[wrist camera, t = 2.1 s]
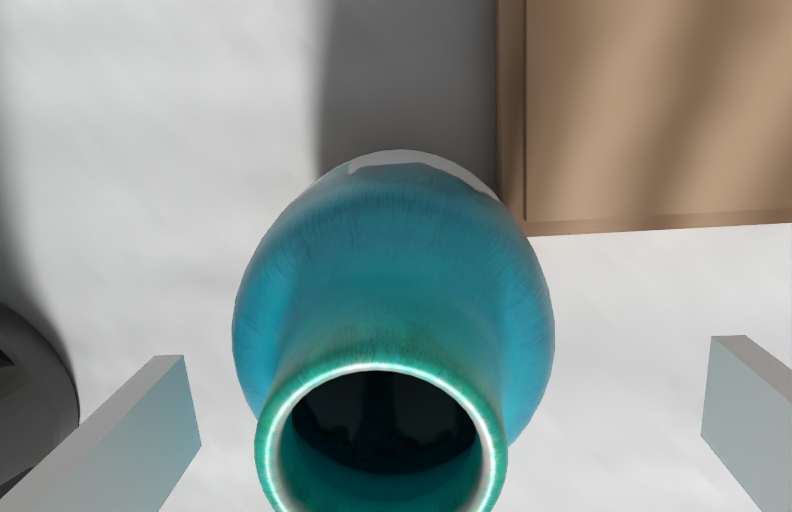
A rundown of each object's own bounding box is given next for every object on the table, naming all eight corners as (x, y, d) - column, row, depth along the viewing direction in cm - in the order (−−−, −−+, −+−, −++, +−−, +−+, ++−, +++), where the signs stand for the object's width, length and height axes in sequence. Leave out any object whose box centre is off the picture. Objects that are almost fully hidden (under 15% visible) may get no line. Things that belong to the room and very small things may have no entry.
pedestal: (497, 229, 29) (505, 243, 26) (492, -108, 24) (502, -136, 21) (803, 212, 28) (847, 225, 25) (858, -144, 23) (920, -178, 20)
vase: (279, 175, 28) (27, 312, 10) (467, 110, 27) (574, 129, 9) (347, 345, 31) (246, 697, 13) (521, 293, 30) (688, 602, 11)
